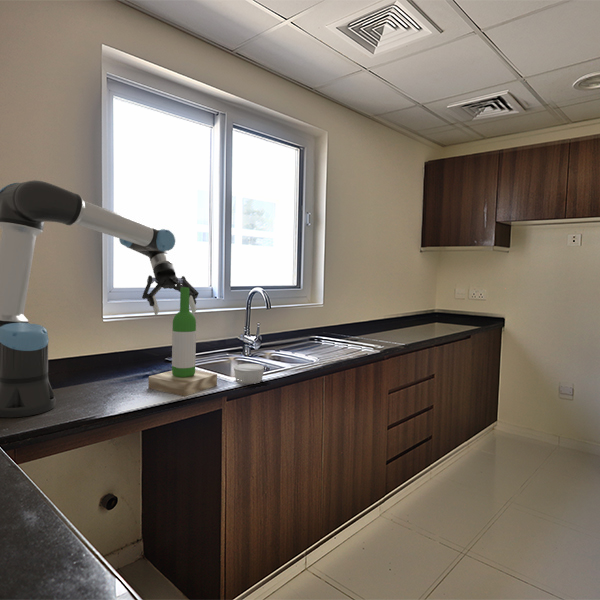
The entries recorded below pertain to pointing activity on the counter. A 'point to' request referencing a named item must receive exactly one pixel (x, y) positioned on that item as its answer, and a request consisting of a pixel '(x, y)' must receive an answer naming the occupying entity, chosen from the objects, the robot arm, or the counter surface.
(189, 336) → the wine bottle
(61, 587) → the counter surface
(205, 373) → the birch base
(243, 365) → the ramekin
